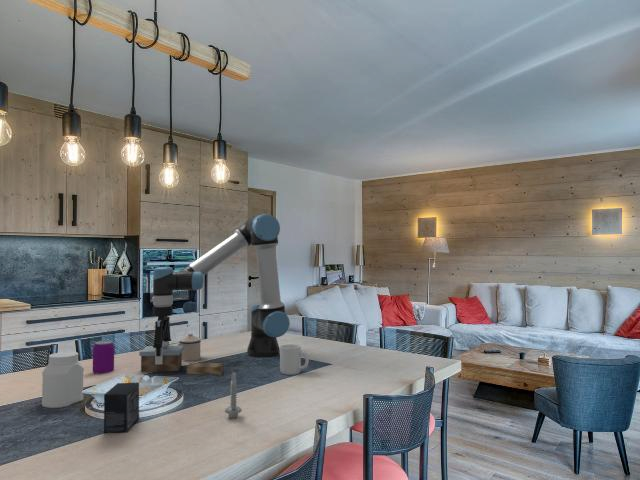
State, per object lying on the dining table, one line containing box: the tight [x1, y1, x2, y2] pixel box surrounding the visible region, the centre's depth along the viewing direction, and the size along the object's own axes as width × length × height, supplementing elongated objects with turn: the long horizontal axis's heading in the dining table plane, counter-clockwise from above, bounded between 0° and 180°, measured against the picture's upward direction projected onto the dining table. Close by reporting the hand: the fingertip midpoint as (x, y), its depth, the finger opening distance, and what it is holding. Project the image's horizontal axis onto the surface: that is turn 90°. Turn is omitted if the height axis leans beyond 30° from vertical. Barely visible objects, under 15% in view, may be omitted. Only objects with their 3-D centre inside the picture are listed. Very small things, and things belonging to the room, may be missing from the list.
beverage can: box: [92, 340, 115, 375], centre depth 181 cm, size 8×8×12 cm
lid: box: [138, 345, 184, 357], centre depth 185 cm, size 15×10×2 cm
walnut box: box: [140, 352, 183, 373], centre depth 185 cm, size 14×8×7 cm, turn 96°
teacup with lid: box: [177, 333, 202, 362], centre depth 203 cm, size 12×9×12 cm
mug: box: [279, 344, 310, 376], centre depth 183 cm, size 12×8×10 cm
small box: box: [103, 382, 140, 434], centre depth 127 cm, size 11×6×10 cm, turn 5°
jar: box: [41, 351, 85, 409], centre depth 146 cm, size 12×10×15 cm
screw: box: [224, 371, 242, 420], centre depth 134 cm, size 13×5×5 cm
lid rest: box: [186, 362, 224, 377], centre depth 180 cm, size 13×6×4 cm, turn 96°
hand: (162, 360), depth 185 cm, fingers closed on lid, 10 cm apart
